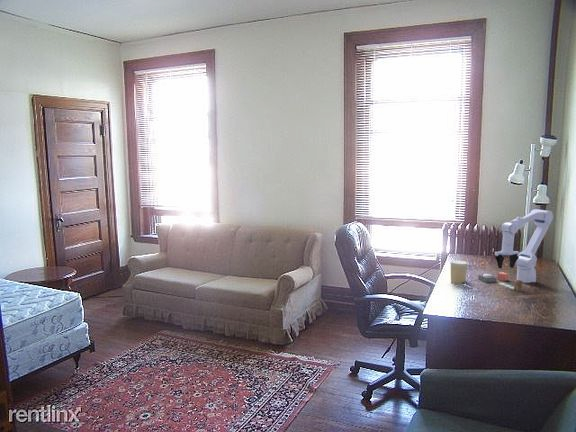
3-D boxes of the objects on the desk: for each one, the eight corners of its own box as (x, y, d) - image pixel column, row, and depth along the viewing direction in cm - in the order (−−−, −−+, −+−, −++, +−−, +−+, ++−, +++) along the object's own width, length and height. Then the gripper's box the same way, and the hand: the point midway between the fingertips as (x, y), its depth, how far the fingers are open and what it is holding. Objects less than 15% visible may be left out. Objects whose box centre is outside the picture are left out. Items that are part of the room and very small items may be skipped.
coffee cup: (465, 280, 262) (466, 260, 260) (467, 285, 253) (468, 264, 251) (448, 279, 264) (449, 259, 263) (449, 284, 255) (451, 263, 254)
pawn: (517, 288, 243) (517, 279, 242) (523, 290, 239) (524, 281, 238) (512, 289, 241) (512, 280, 240) (518, 291, 238) (519, 282, 237)
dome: (488, 278, 261) (488, 273, 260) (493, 280, 256) (494, 275, 256) (480, 279, 259) (481, 274, 259) (486, 281, 255) (486, 276, 254)
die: (501, 278, 262) (502, 271, 262) (508, 280, 259) (508, 273, 258) (497, 279, 260) (497, 272, 260) (503, 281, 257) (504, 274, 256)
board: (502, 279, 264) (502, 273, 264) (534, 292, 240) (535, 285, 240) (474, 281, 260) (474, 275, 259) (504, 294, 236) (504, 287, 235)
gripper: (513, 242, 254) (511, 265, 256) (491, 242, 251) (489, 266, 253) (523, 244, 248) (520, 268, 249) (500, 245, 244) (498, 269, 246)
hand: (505, 267), depth 251 cm, fingers open, 7 cm apart
